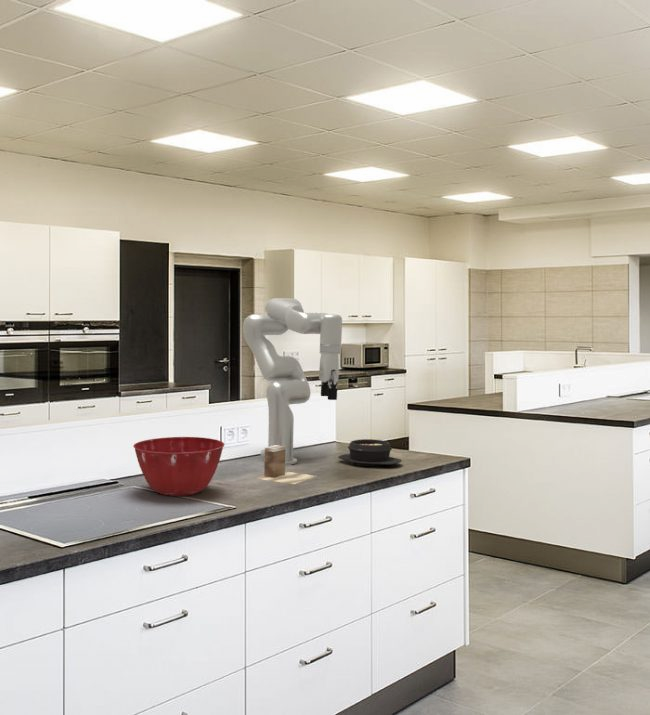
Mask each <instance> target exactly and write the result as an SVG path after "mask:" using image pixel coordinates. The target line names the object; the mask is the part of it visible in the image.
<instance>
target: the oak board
mask: <svg viewBox="0 0 650 715" xmlns="http://www.w3.org/2000/svg"><path fill="white" fill-rule="evenodd" d="M317 477H318V475H313V474H307V473H306V474H305V473H298V472H291V471H285V475H282V476H278V477H275V478H271V477H264V475H262V476H258V477H255V478H254V479H256V480H263V481H269V482H277V483H282V484H283V483H284V484H290V485H296V484H299V483H302V482H305V481H308V480H311V479H313V478H317Z"/></svg>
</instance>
